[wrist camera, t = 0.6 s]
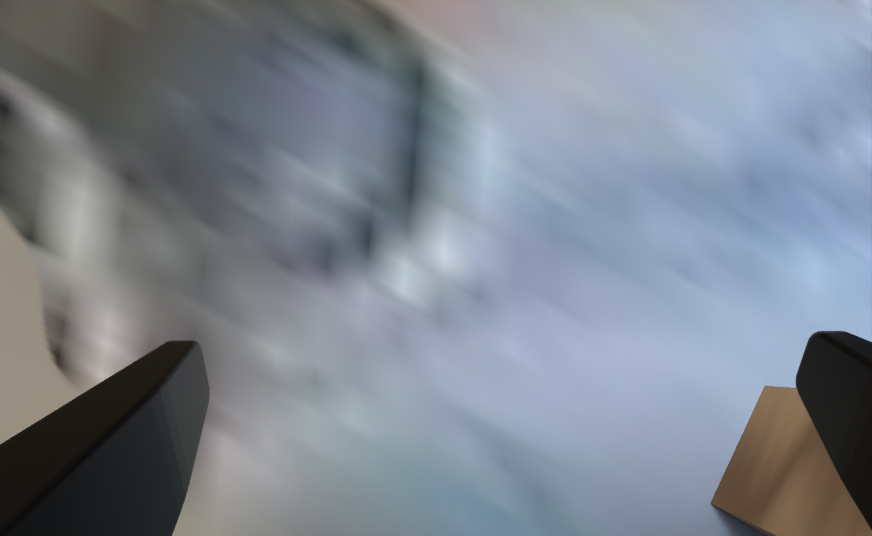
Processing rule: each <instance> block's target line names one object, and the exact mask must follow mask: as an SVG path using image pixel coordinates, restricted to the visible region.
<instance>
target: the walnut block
mask: <svg viewBox="0 0 872 536" xmlns="http://www.w3.org/2000/svg"><path fill="white" fill-rule="evenodd" d="M711 504H713V505H714V506H716V507H718V508H720V509H721V510H723V511H725V512H727V513H728V514H730V515H732V516H734V517H736V518H737V519H739V520H741V521H743V522H744V523H746V524H748V525H750V526H752V527H753V528H755V529H757V530H759V531H760V532H762V533H764V534H766V535H768V536H872V530H871V529H870V527H869V525H868V524H867V522H866V521H865V519H864V517H863V516H862V514H861V513H860V511H859V509H858V508H857V506H856V504H855V503H854V501H853V500H852V498H851V496H850V495H849V493H848V491H847V490H846V488H845V486H844V484H843V483H842V481H841V479H840V477H839V475H838V473H837V472H836V470H835V468H834V466H833V464H832V462H831V460H830V458H829V456H828V453H827V451H826V449H825V447H824V445H823V443H822V441H821V439H820V437H819V435H818V433H817V431H816V429H815V427H814V425H813V423H812V421H811V419H810V417H809V415H808V413H807V411H806V408H805V406H804V404H803V402H802V400H801V398H800V396H799V394H798V391H797V388H787V387H774V386H765V387H764V389H763V391H762V393H761V396H760V398H759V400H758V402H757V404H756V406H755V408H754V411H753V413H752V415H751V417H750V419H749V421H748V424H747V426H746V428H745V430H744V432H743V434H742V437H741V439H740V441H739V443H738V445H737V447H736V450H735V452H734V454H733V456H732V458H731V460H730V462H729V465H728V467H727V469H726V471H725V473H724V475H723V478H722V480H721V482H720V484H719V486H718V488H717V491H716V493H715V495H714V497H713V499H712V501H711Z"/></svg>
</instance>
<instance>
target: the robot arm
mask: <svg viewBox="0 0 872 536" xmlns="http://www.w3.org/2000/svg"><path fill="white" fill-rule="evenodd" d="M796 388H797V391H798V394H799V396H800V398H801V400H802V402H803V404H804V406H805V408H806V411H807V413H808V415H809V417H810V419H811V421H812V423H813V425H814V427H815V429H816V431H817V433H818V435H819V437H820V439H821V441H822V443H823V445H824V447H825V449H826V451H827V453H828V456H829V458H830V460H831V462H832V464H833V466H834V468H835V470H836V472H837V473H838V475H839V477H840V479H841V481H842V483H843V484H844V486H845V488H846V490H847V491H848V493H849V495H850V496H851V498H852V500H853V501H854V503H855V504H856V506H857V508H858V509H859V511H860V513H861V514H862V516H863V517H864V519H865V521H866V522H867V524H868V525H869V527H870V529H871V530H872V342H870V341H867V340H865V339H863V338H860V337H858V336H855V335H853V334H850V333H848V332H844V331H818V332H816V333H814V334H812V336H811V337H810V338H809V340H808V343H807V346H806V348H805V351H804V354H803V357H802V360H801V363H800V366H799V369H798V372H797V375H796ZM208 403H209V384H208V378H207V373H206V368H205V363H204V358H203V353H202V349H201V347H200V345H199V343H198V342H196V341H168V342H166V343H164V344H163V345H161V346H159V347H158V348H156V349H154V350H153V351H151V352H150V353H148V354H146V355H145V356H143V357H142V358H140V359H138V360H137V361H135V362H133V363H132V364H130V365H129V366H127V367H125V368H124V369H122V370H120V371H119V372H117V373H116V374H114V375H112V376H111V377H109V378H107V379H106V380H104V381H103V382H101V383H99V384H98V385H96V386H94V387H93V388H91V389H90V390H88V391H86V392H85V393H83V394H81V395H80V396H78V397H77V398H75V399H73V400H72V401H70V402H69V403H67V404H65V405H64V406H62V407H61V408H59V409H57V410H55V411H54V412H52V413H51V414H49V415H47V416H46V417H44V418H43V419H41V420H39V421H37V422H36V423H34V424H33V425H31V426H30V427H28V428H26V429H25V430H23V431H22V432H20V433H18V434H17V435H15V436H13V437H11V438H10V439H8V440H7V441H5V442H3V443H2V444H0V536H172V534H173V531H174V529H175V526H176V523H177V521H178V518H179V515H180V512H181V509H182V507H183V504H184V501H185V498H186V494H187V490H188V487H189V483H190V479H191V475H192V471H193V466H194V462H195V458H196V454H197V450H198V445H199V441H200V437H201V433H202V429H203V425H204V420H205V416H206V412H207V408H208Z"/></svg>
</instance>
